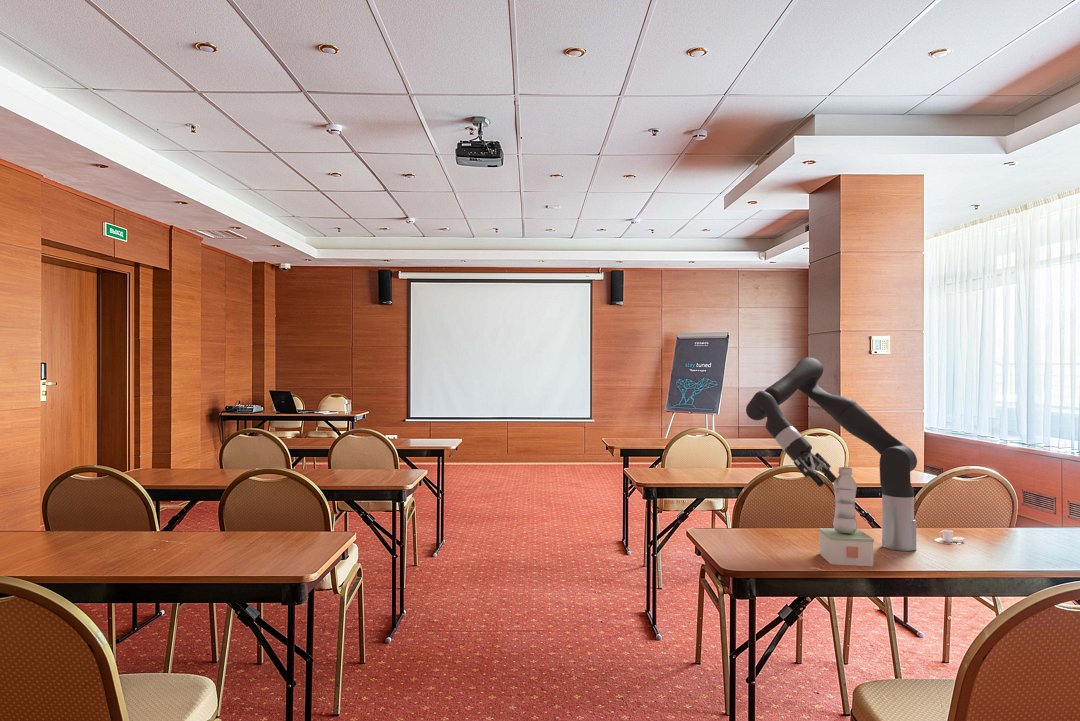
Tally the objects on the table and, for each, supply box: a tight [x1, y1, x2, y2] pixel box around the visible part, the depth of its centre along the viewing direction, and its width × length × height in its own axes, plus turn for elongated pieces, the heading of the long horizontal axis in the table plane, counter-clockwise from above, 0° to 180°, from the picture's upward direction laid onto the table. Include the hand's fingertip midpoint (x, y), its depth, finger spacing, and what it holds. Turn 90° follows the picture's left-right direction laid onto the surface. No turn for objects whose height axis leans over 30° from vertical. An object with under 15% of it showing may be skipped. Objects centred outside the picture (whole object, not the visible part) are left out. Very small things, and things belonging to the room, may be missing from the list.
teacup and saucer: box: [934, 529, 965, 545], centre depth 229 cm, size 9×8×4 cm
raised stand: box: [818, 527, 875, 567], centre depth 205 cm, size 12×13×8 cm
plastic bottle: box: [832, 466, 858, 534], centre depth 206 cm, size 6×7×20 cm
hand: (828, 483), depth 209 cm, fingers open, 8 cm apart
